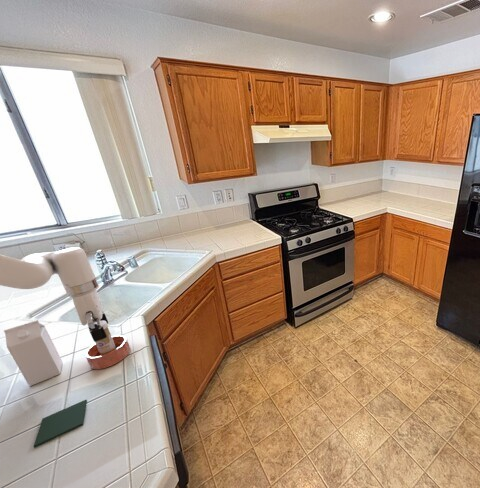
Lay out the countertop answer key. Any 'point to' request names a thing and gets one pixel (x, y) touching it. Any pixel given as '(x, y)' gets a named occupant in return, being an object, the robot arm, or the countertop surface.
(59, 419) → the mat
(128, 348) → the bowl
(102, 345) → the sprinkles bottle
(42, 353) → the milk carton
